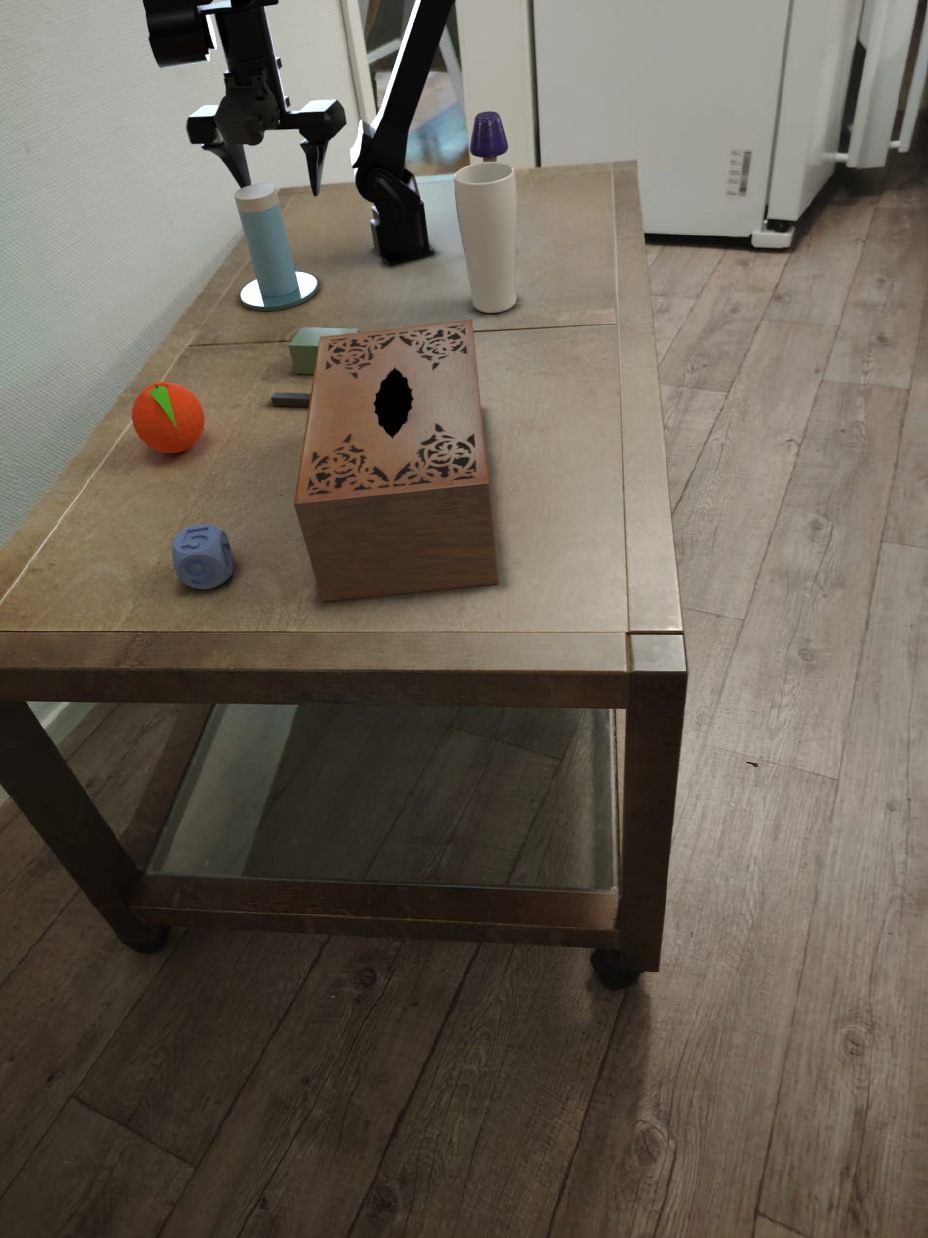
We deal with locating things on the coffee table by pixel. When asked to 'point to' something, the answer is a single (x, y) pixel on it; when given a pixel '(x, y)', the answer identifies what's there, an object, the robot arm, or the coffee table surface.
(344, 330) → the cradle
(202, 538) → the decorative dice
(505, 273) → the drinking glass
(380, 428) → the tissue box cover
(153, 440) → the clementine
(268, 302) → the coaster
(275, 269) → the plastic bottle
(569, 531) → the coffee table surface
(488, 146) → the toy lamp
